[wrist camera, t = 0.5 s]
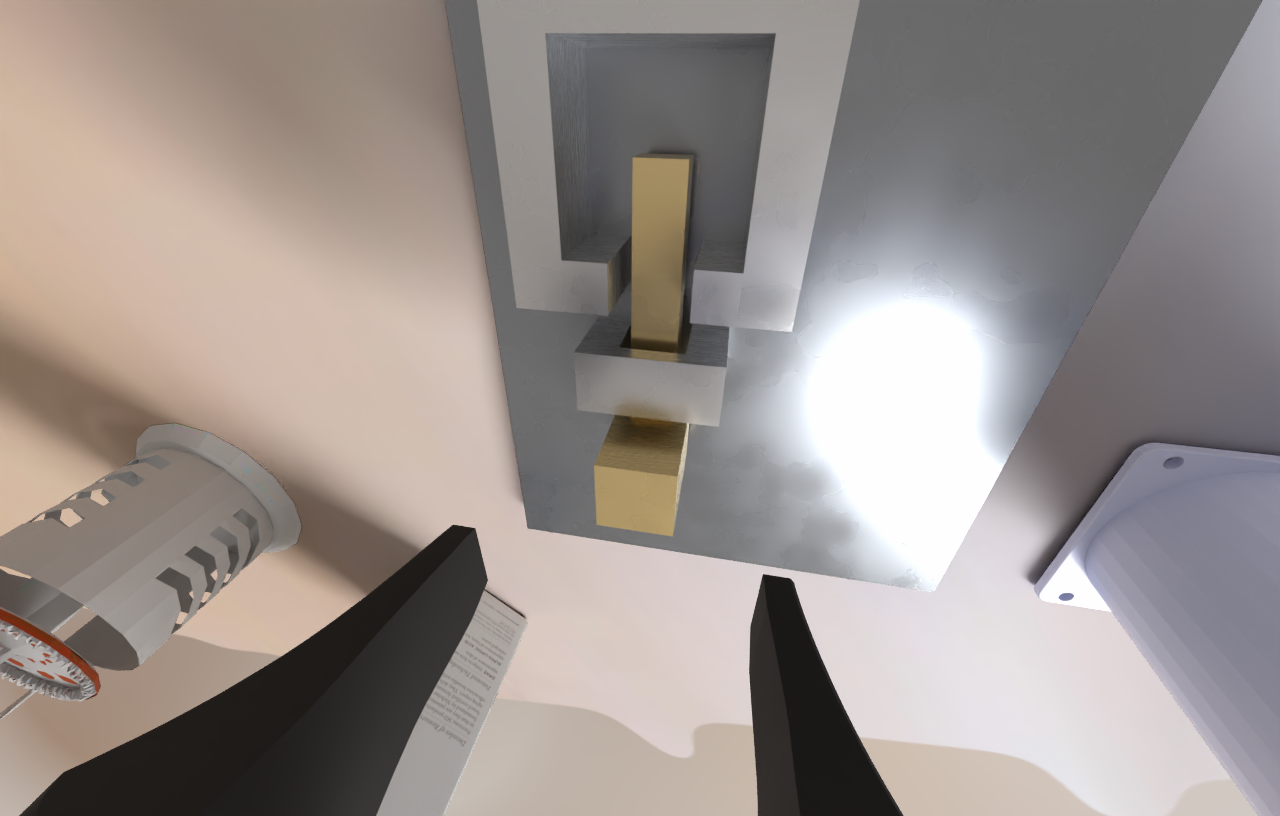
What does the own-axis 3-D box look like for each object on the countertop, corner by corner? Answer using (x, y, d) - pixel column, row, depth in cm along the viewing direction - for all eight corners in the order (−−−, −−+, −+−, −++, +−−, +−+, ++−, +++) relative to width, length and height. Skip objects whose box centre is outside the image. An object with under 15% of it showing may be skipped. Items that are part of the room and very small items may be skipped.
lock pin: (713, 155, 12) (701, 174, 9) (686, 456, 18) (672, 536, 15) (623, 152, 13) (580, 169, 10) (623, 448, 18) (596, 524, 15)
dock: (1627, -768, 6) (2617, -1744, 3) (926, 572, 21) (960, 661, 18) (387, -534, 9) (174, -912, 6) (535, 513, 24) (501, 580, 20)
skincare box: (468, 658, 33) (301, 994, 20) (392, 612, 31) (163, 943, 19) (534, 615, 28) (373, 1008, 16) (450, 560, 27) (202, 944, 15)
